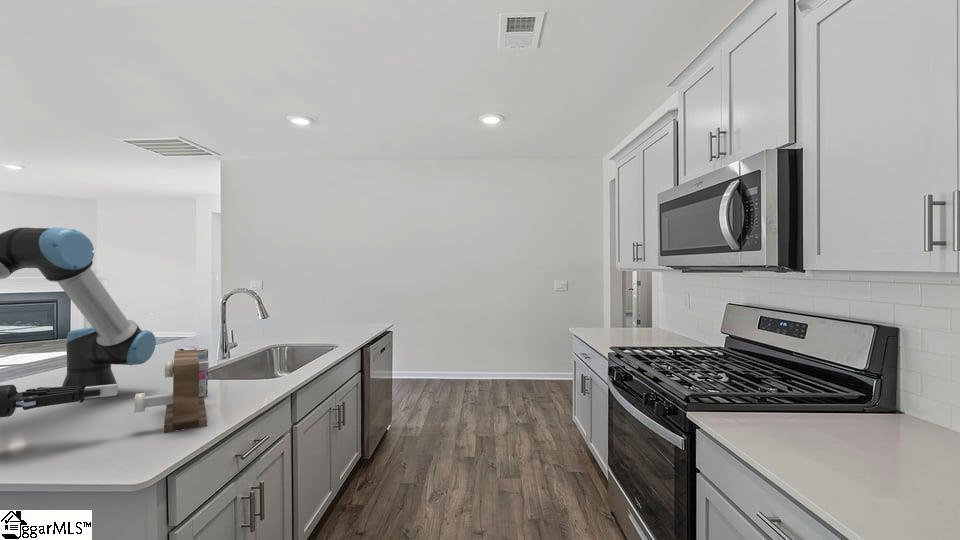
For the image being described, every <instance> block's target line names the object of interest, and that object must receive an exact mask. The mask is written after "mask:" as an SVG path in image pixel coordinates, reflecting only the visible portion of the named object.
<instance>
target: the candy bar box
mask: <svg viewBox="0 0 960 540" xmlns="http://www.w3.org/2000/svg"><path fill="white" fill-rule="evenodd" d="M194 349H197V352H198V359H199V362H202V361H208V362H209V360H208V359H209V349H208V348H207V349H206V348H203V347H202V348H201V347H197V346H184V347H178V348H177V351H181V350H194ZM208 372H209V370H202V371H199V398H202V397H204V398H206V397H208V379H209V377H208V375H209V374H208Z"/></svg>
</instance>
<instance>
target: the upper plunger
mask: <svg viewBox="0 0 960 540" xmlns="http://www.w3.org/2000/svg"><path fill="white" fill-rule="evenodd" d="M173 365H174V360H165V362H164V378H173ZM202 370H208V371H209V370H210V369H209V360H208V361H202V362H199V371H202Z"/></svg>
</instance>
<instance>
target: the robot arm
mask: <svg viewBox="0 0 960 540" xmlns="http://www.w3.org/2000/svg"><path fill="white" fill-rule="evenodd" d="M94 250H95V247H94V244H93V243H92V240H91V239H90V238H89V237H88V236H87V235H86V234H85V233H83V232H82V231H79V230H76V229H73V228H67V227H51V228H50V227H48V228H47V227H26V226H25V227H17V228H11V229H8V230H6V231H3V232H0V280H4V279H8V278H9V277H10V276H11V275H12V274H13V273H15V272H17V271H19V270H23V269H38V271H39V272H40V273H41V274H42V275H43V277H44V278H45V279H46V280H47V281H50V282H53V283H54V282H56V283H57V284H58V286H60V288H61V289H62V290H63V291H64V293H65V295H67V296H68V298H69V299H70V300H71V301H72V303H73V304H74V305H75V306H76V308H77V310H79V312H80V313H81V314H82V316H83V317H84V318H85V319H86V321H87V322H88V323H89V325H90V326H91V327H86V328H85V327H84V328H79V329H73V330H70V331H69V332H68V333H67V336H66V342H65V345H66V374H65V378H64V380H63V383H62V385H61V386H55V387H51V386H49V387H46V386H44V387H43V386H39V387H37V388H28V389H26V390H25V391H21V392H18V391H17V387H16V386H15V384H2V385H0V419H1V418H8V417H11V416H13V415H14V413H15V412H16V408H18V409H19V408H22V410H24V411H28V410H31V409H36V408H42V407H49V406H55V405H56V406H57V405H61V404H69V403H77V402H79V403H84V400H86V399H93V398H95V399H96V398H104V397H113V396H117V395H118V390H119V389H118V388H119V386H118V385H119V384H118V382H117V379H116V377H115V375H114V373H113V371H112V365H121V366H122V365H123V366H135V365H136V366H137V365H142V364H144V363H146V362H148V361H149V360H150V359H151V358H152V356H153V355H154V352H155V348H156V344H157V340H156V336H155V334H154V333H153V332H152V331H149V330H143V329H141V328H140V326H139V325H138V324H137V322H136V321H134V320H131V319H127V318H126V316H125V314H124V313H123V311H122V310H121V308H120V307H119V306H118V305H117V303H116V302H115V301H114V299H113V297H112V296H111V295H110V294H109V292H108V291H107V289H106V288H105V286H104V285H103V283H102V282H101V281H100V279H99V278H98V277H97V275H96V274H95V272H94V270H92V266H93V265H94V257H95V253H94V252H93V251H94Z"/></svg>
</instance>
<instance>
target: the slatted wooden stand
mask: <svg viewBox="0 0 960 540" xmlns="http://www.w3.org/2000/svg"><path fill="white" fill-rule="evenodd" d="M173 364H174V365H173V377H172V378H173V380H172V382H173V387H172V389H173V390H172V393H173V404H169V405H165V406H166V407H165V413H164V414H165V415H164V422H163V423H164V424H163V433H164V432H165V433H171V432H170V431H172V432H177V431H176V430H178V431H183V430H182V429H184V430H190V428H191V429H197V428H203V427H208V416H207V409H206V401H205V397H202V398H199V359H198V352H197V349H194V350H181V351H178V350H174V355H173ZM202 426H203V427H202ZM196 427H197V428H196Z"/></svg>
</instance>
